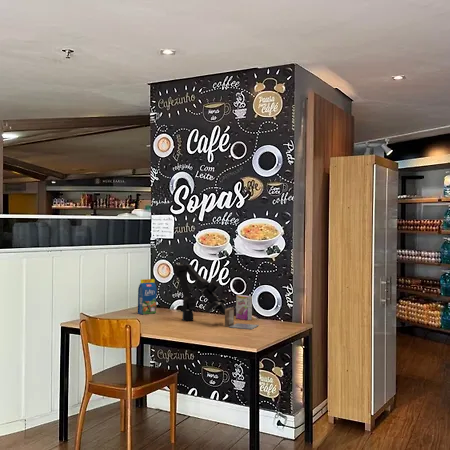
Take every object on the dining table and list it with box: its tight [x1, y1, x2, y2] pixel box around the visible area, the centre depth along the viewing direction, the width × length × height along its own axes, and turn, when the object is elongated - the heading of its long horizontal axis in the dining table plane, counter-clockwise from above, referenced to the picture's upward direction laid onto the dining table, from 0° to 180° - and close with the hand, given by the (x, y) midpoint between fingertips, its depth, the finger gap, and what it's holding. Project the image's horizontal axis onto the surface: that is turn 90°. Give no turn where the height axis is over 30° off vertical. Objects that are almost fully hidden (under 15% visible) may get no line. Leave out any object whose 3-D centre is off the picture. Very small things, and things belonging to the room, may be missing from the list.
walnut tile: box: [224, 307, 235, 328], centre depth 369 cm, size 3×10×11 cm, turn 159°
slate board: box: [228, 323, 260, 330], centre depth 365 cm, size 15×16×1 cm
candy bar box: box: [235, 294, 253, 321], centre depth 398 cm, size 11×5×16 cm, turn 47°
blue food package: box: [137, 278, 158, 315], centre depth 416 cm, size 6×12×25 cm, turn 130°
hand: (226, 314), depth 369 cm, fingers closed
